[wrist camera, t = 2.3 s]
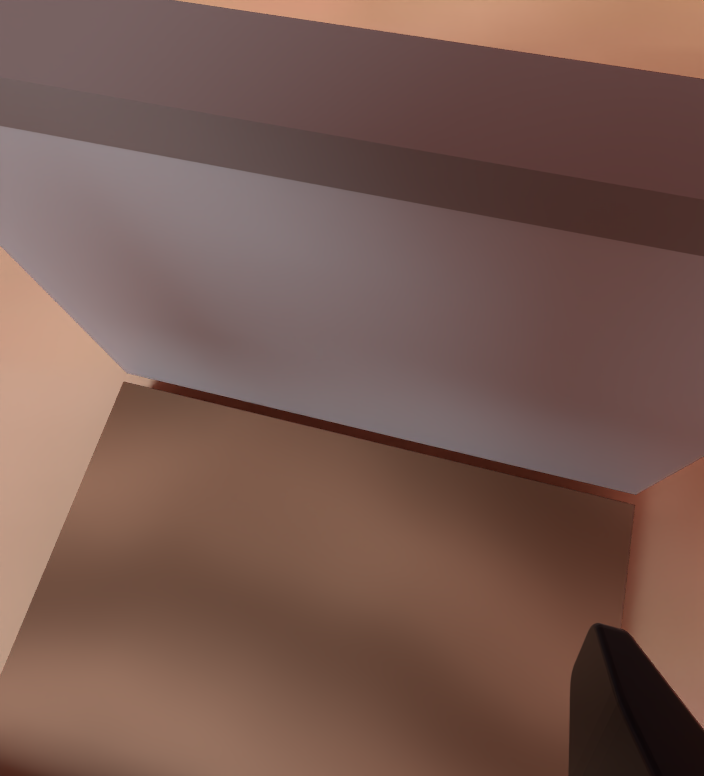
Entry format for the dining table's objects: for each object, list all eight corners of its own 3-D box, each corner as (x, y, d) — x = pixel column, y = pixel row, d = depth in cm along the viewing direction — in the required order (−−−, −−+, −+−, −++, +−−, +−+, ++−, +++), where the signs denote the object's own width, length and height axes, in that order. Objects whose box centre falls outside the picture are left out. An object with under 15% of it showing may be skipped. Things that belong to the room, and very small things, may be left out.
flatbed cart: (552, 1052, 15) (589, 1146, 12) (-39, 837, 17) (-120, 876, 15) (617, 514, 20) (655, 494, 17) (140, 397, 22) (104, 362, 19)
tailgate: (634, 499, 18) (1069, 263, 7) (125, 377, 21) (-219, 39, 9) (641, 441, 19) (1050, 130, 7) (145, 328, 21) (-151, -48, 9)
